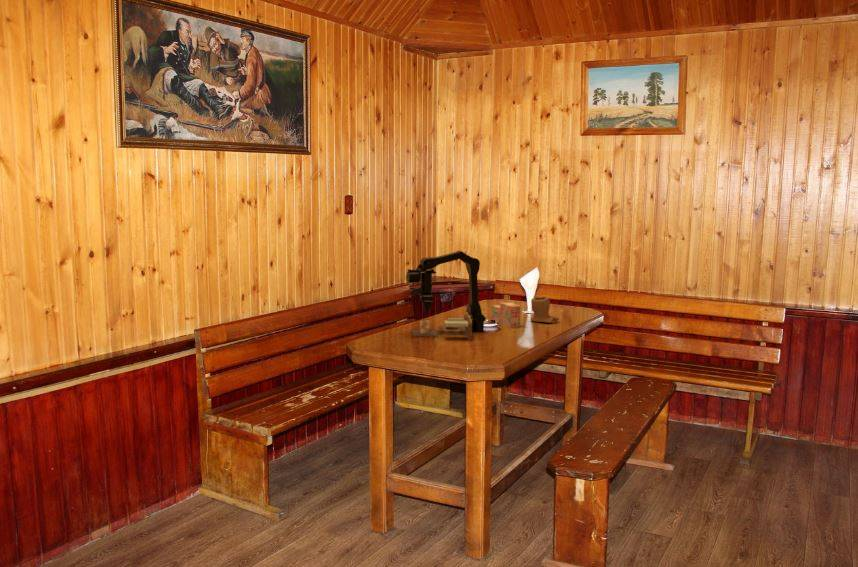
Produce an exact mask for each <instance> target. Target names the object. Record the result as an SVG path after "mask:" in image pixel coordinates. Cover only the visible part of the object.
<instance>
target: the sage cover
mask: <svg viewBox="0 0 858 567" xmlns="http://www.w3.org/2000/svg"><path fill="white" fill-rule="evenodd" d="M443 324H444V326H469V323H468V321H464V317H463V318H462V317H460V318H459V317H448V318H447V319H446V320H443Z"/></svg>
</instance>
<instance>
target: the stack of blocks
mask: <svg viewBox="0 0 858 567" xmlns="http://www.w3.org/2000/svg"><path fill="white" fill-rule="evenodd" d="M521 308H522V306H521V305H519V304H517V303H513V302H510V301H509V302H499V304H496V305H491V321H492V320H495V321H497V322H498V323H499V325H501V324H502V326H504V327H506V326H507V327H506V328H510V329H516V328H515V327H517V328H520V327H521V311H522V309H521ZM498 323H497V324H498Z"/></svg>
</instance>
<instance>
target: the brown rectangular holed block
mask: <svg viewBox="0 0 858 567" xmlns="http://www.w3.org/2000/svg"><path fill="white" fill-rule="evenodd" d="M463 318H464V321H468V323H469V326H445V325H438V326H437V331H438V335H440V336H441V335H443V336H444V335H452V336H453V335H455V336H456V335H458V336H459V335H460V336H461V335H462V336H466V338H467V340H468V341H473V340H472V338H473V336H472V335H473V332H472V319H471V318H470V316H469V315H468V313H466V314H464V317H463Z"/></svg>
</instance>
